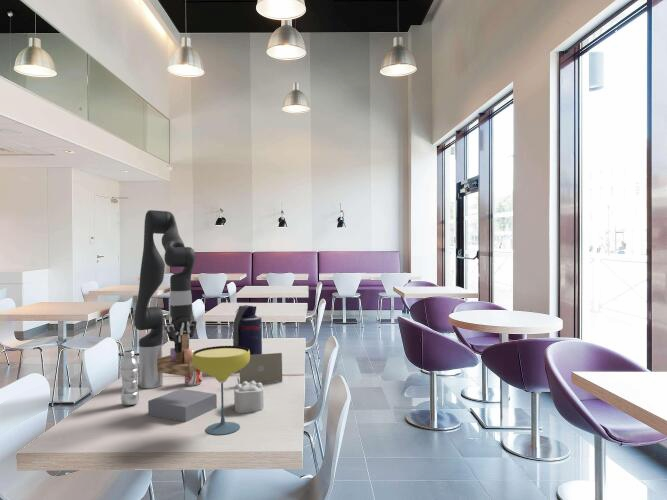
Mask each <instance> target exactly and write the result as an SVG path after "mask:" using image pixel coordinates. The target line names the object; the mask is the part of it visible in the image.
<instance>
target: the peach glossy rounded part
mask: <svg viewBox="0 0 667 500" xmlns="http://www.w3.org/2000/svg"><path fill="white" fill-rule="evenodd" d="M194 352H195V349H194V348H189V349H186V350H184V363H185V364H188V362H191V361H192V356H193V353H194Z"/></svg>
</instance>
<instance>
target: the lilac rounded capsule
mask: <svg viewBox="0 0 667 500" xmlns="http://www.w3.org/2000/svg"><path fill="white" fill-rule="evenodd" d="M169 351H170V352H169V355H170V359H171V362H176V352H175V347H171V348H170V349H169Z"/></svg>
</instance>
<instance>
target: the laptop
mask: <svg viewBox="0 0 667 500" xmlns="http://www.w3.org/2000/svg"><path fill="white" fill-rule="evenodd" d="M237 380H238V384H242V383H243V382H244V381H247V382H251V381H255V382H256V383H259V382H260V383H262V385H263V384H264V383H266V384H274V383H275V384H277V383H283V353H282V352H275V353H274V352H273V353H262V354H257V355H250V360H249V363H248V364H247V365H246V366H245V367H244V368H242V369H241V370H239V377H237Z"/></svg>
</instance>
